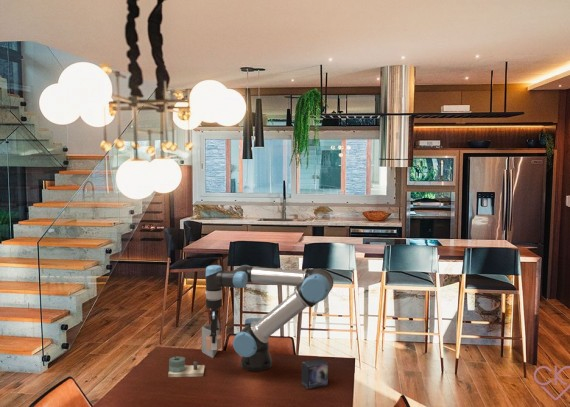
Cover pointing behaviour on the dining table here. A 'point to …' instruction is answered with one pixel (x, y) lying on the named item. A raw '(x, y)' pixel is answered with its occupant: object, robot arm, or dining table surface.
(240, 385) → the dining table surface
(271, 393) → the dining table surface
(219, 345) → the loose gear
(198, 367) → the gear board
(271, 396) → the dining table surface
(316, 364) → the small box
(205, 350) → the grey magazine holder
